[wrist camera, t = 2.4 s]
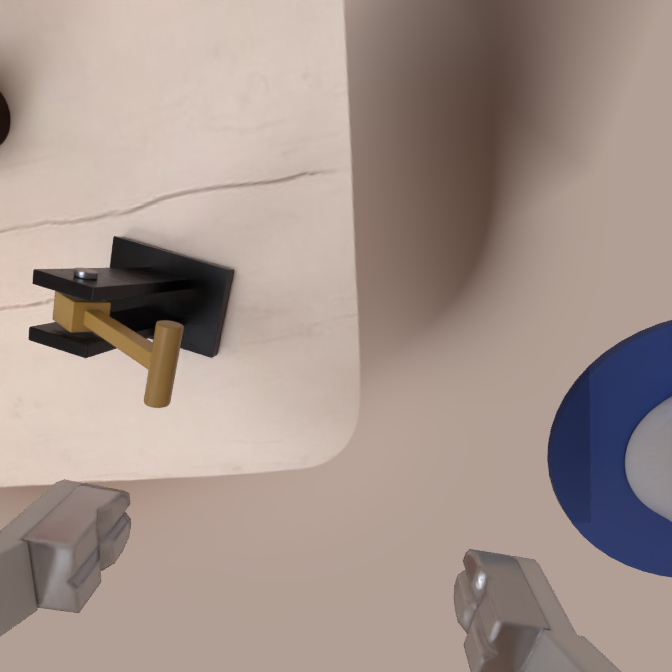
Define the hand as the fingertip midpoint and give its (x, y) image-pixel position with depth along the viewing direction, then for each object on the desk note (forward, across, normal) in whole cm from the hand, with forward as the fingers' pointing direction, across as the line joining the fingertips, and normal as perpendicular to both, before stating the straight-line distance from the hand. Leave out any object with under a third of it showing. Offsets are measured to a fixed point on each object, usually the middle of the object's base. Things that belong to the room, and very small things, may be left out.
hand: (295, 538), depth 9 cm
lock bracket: (+28, +17, +3) cm, 33 cm away
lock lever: (+16, +14, +2) cm, 21 cm away
